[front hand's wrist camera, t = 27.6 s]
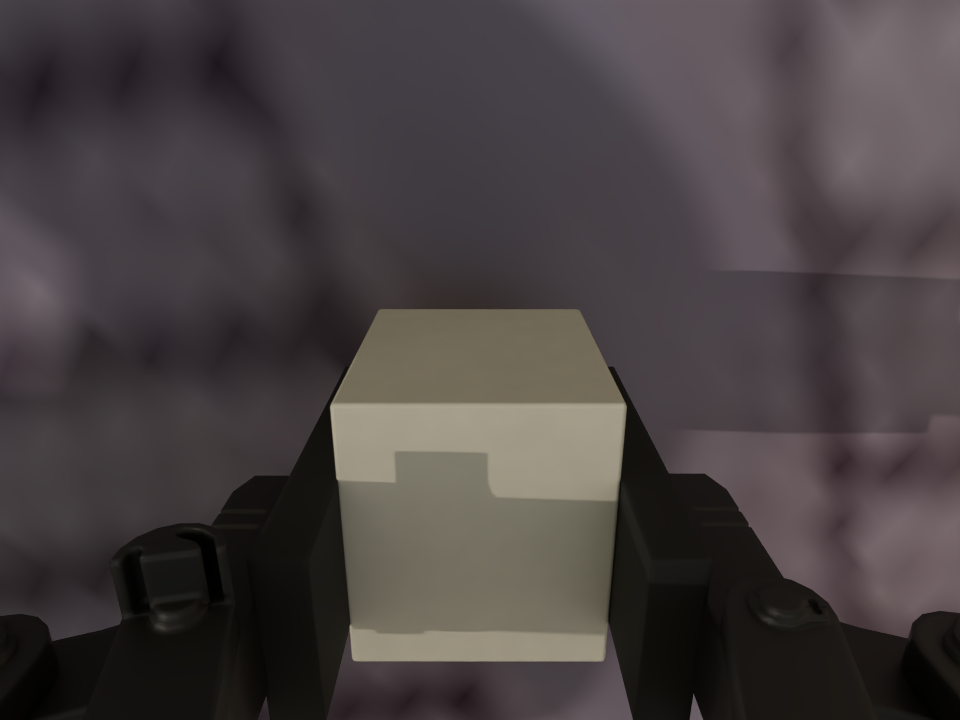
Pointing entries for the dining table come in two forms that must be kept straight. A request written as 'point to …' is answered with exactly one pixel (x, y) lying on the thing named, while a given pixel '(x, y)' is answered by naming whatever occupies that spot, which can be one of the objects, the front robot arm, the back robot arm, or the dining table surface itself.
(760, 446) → the dining table surface
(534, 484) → the block
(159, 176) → the dining table surface
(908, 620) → the dining table surface
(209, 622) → the front robot arm
